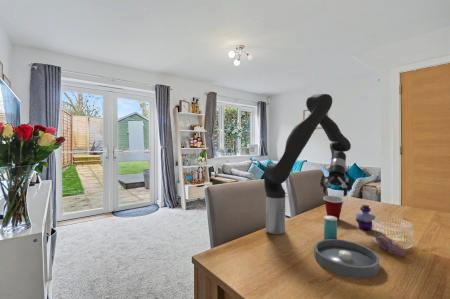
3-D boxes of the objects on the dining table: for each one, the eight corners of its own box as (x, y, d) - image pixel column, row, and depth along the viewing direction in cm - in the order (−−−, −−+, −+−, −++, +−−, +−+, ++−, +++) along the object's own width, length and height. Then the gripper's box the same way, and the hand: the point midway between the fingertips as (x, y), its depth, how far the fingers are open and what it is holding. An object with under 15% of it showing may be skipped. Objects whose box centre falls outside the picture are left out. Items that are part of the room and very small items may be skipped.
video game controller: (378, 249, 94) (371, 235, 93) (387, 244, 94) (380, 230, 94) (398, 262, 84) (391, 246, 83) (408, 256, 84) (401, 240, 84)
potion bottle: (354, 224, 118) (354, 202, 118) (374, 227, 114) (374, 204, 114) (355, 230, 110) (356, 206, 110) (376, 233, 106) (377, 208, 106)
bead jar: (325, 241, 98) (325, 219, 98) (322, 236, 103) (322, 215, 103) (338, 243, 97) (338, 220, 96) (335, 237, 102) (335, 216, 102)
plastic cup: (323, 220, 124) (323, 199, 123) (322, 214, 134) (322, 195, 133) (345, 223, 120) (345, 201, 119) (342, 217, 130) (343, 196, 129)
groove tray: (320, 273, 74) (320, 263, 74) (310, 245, 95) (310, 237, 95) (391, 282, 70) (391, 271, 70) (365, 250, 90) (365, 241, 90)
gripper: (322, 163, 120) (318, 188, 111) (352, 164, 112) (350, 191, 103) (323, 172, 125) (320, 197, 115) (353, 173, 117) (351, 200, 108)
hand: (334, 194), depth 109 cm, fingers open, 8 cm apart
